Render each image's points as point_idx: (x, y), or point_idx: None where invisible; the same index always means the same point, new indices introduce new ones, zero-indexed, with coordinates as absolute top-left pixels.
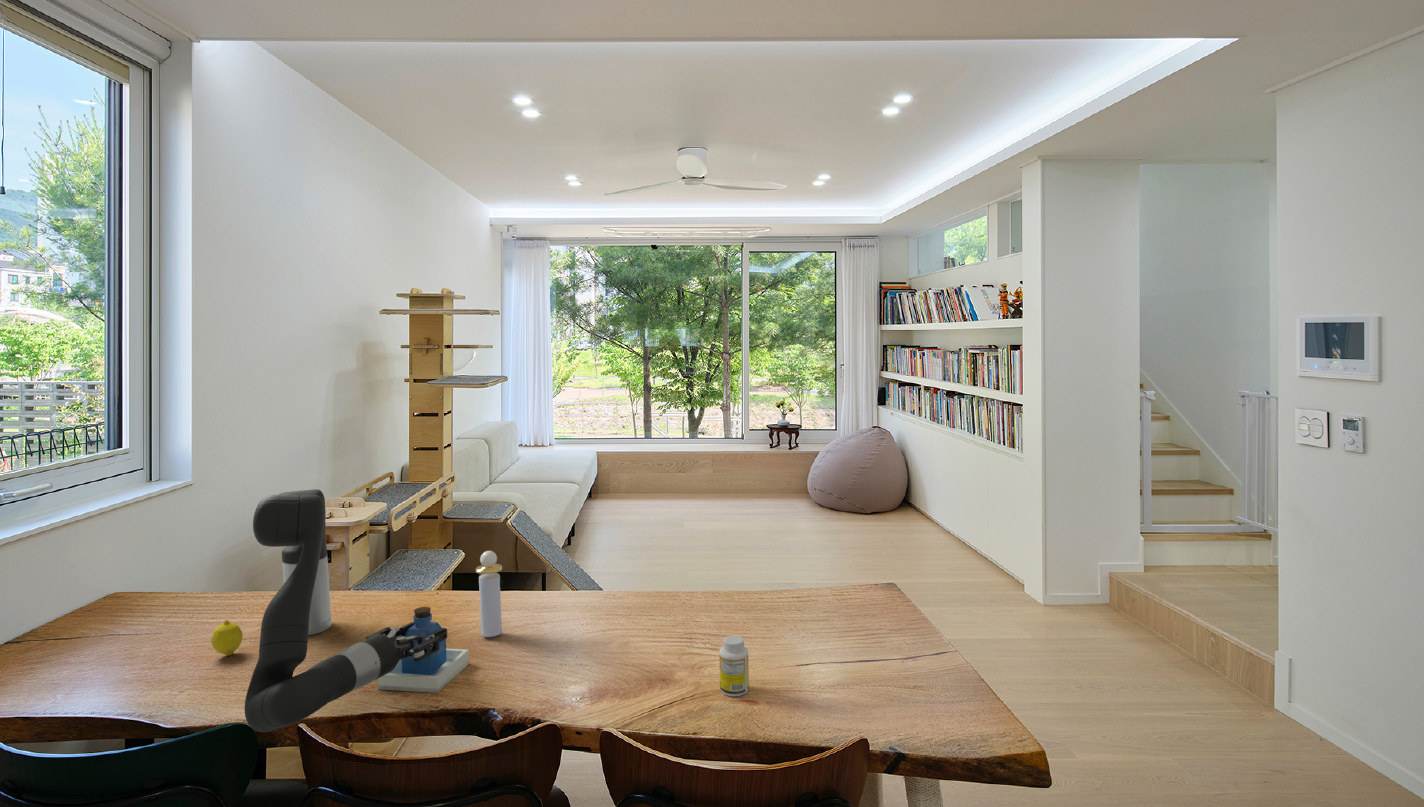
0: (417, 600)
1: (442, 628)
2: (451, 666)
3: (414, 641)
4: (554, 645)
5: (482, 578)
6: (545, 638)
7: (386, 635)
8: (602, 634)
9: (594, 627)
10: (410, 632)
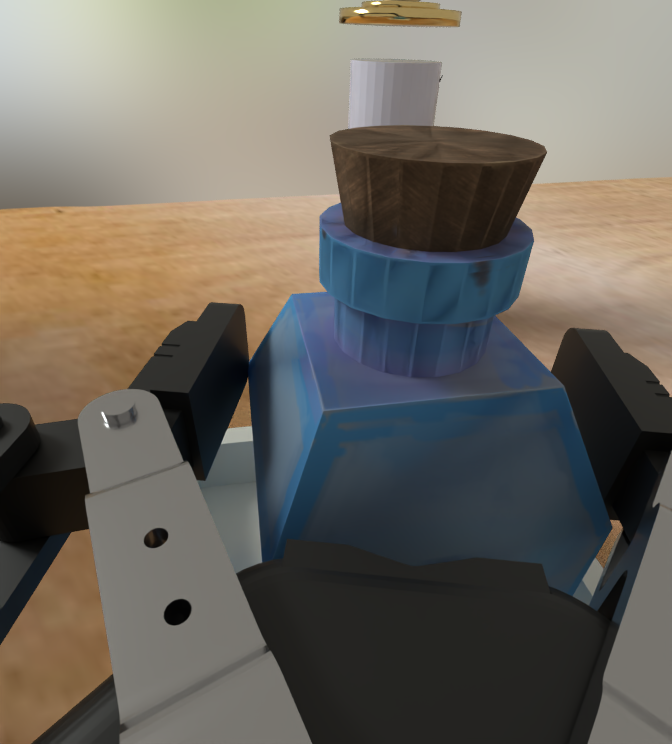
0: (10, 231)
1: (585, 336)
2: (598, 569)
3: (432, 532)
4: (619, 320)
5: (387, 62)
6: (547, 300)
7: (8, 514)
8: (662, 272)
9: (602, 257)
10: (359, 444)
